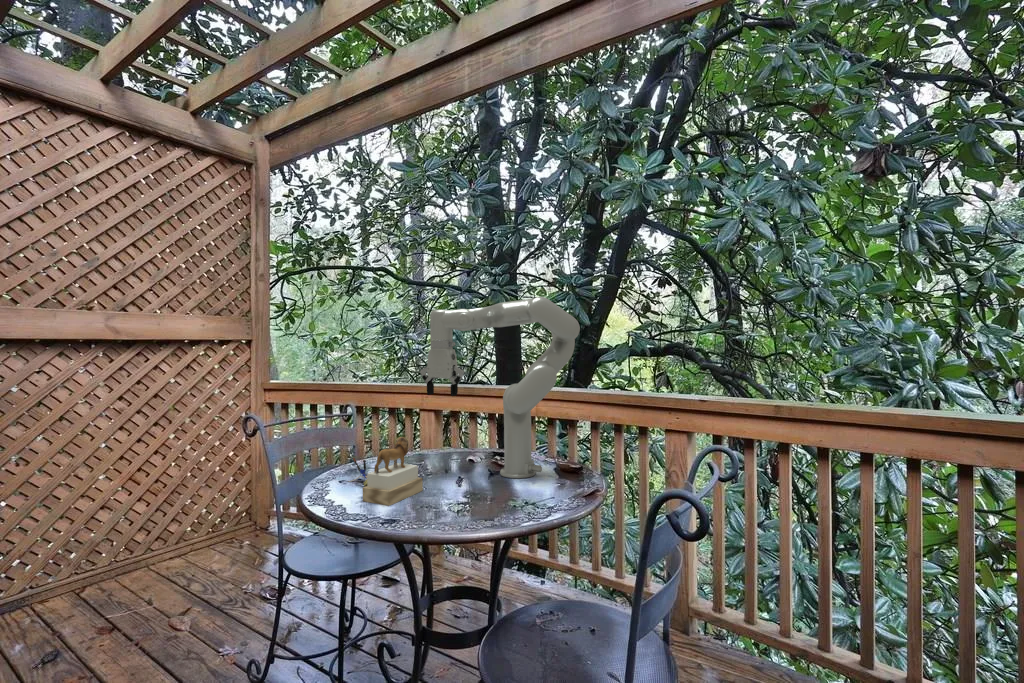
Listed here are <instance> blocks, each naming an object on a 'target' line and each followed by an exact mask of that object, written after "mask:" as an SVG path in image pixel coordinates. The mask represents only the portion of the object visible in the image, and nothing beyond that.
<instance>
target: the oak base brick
mask: <svg viewBox="0 0 1024 683" xmlns="http://www.w3.org/2000/svg"><path fill="white" fill-rule="evenodd" d="M423 483H424V482H423V477H419V476H418V479H415V480H413V481H411V482H408V483H406V484H403V485H401V486H398V487H396V488H394V489H391V490H383V489H376V488H369V487H368V486H364V487H362V502H366V503H372V504H378V505H384V506H388V507H389V506H392V505H394V504H397V503H399V502H401V501H403V500H405V499H408V498H410V497H412V496H414V495H417V494H419V493H421V492H423V489H424V488H423Z"/></svg>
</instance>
